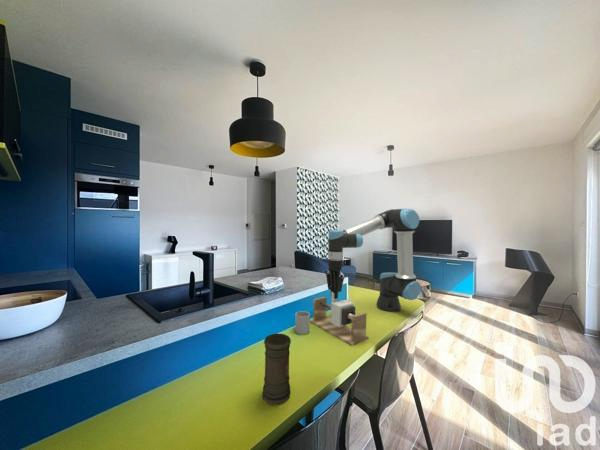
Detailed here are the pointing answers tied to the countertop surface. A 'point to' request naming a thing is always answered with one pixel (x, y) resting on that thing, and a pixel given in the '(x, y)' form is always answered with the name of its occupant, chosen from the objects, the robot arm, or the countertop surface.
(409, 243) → the robot arm
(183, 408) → the countertop surface
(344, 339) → the stand
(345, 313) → the dark grey square plate
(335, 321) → the sleeve
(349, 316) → the pipe
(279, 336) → the container
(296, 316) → the cup
